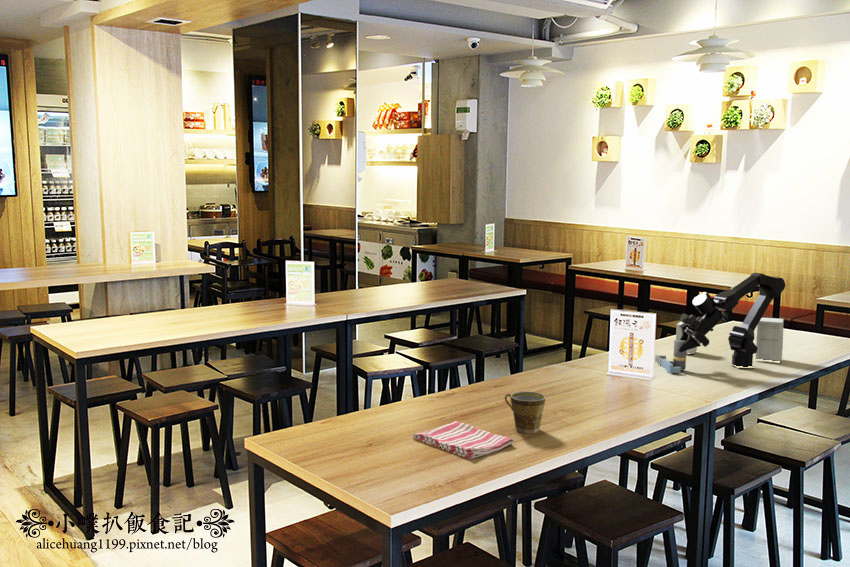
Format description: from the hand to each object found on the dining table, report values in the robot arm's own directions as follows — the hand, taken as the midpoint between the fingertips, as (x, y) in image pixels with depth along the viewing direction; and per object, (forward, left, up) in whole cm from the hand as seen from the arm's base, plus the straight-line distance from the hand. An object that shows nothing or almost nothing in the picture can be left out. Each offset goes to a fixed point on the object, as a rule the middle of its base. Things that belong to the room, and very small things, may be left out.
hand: (677, 349), depth 288 cm
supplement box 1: (-13, -31, -8) cm, 35 cm away
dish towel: (+83, +84, -9) cm, 118 cm away
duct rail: (+2, -5, -8) cm, 10 cm away
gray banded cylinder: (-1, 0, -7) cm, 7 cm away
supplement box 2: (-42, -18, -8) cm, 47 cm away
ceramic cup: (+66, +72, -8) cm, 97 cm away
